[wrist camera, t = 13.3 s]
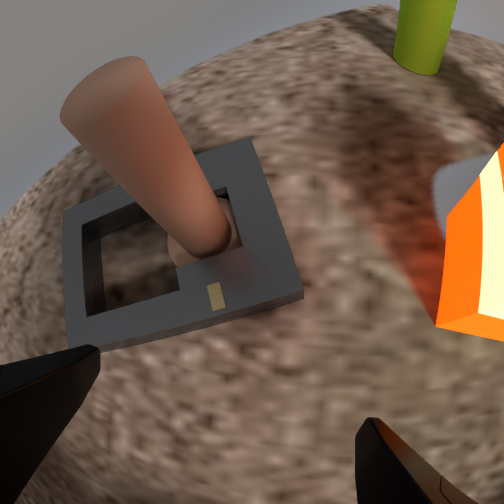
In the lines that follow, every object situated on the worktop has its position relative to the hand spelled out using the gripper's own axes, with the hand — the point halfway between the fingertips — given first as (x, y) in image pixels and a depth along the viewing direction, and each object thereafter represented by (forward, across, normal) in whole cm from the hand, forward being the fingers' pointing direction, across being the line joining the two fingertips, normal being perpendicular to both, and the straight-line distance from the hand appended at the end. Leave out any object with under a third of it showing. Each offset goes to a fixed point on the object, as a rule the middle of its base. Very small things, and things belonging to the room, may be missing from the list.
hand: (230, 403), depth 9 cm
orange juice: (+12, -17, -4) cm, 21 cm away
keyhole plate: (+14, +6, 0) cm, 16 cm away
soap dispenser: (+25, -12, -26) cm, 38 cm away
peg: (+14, +4, -1) cm, 15 cm away
